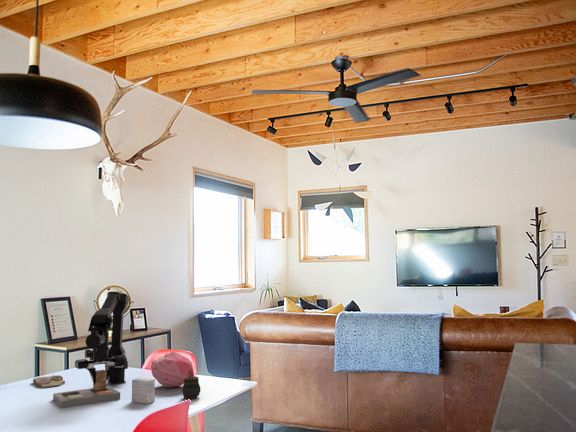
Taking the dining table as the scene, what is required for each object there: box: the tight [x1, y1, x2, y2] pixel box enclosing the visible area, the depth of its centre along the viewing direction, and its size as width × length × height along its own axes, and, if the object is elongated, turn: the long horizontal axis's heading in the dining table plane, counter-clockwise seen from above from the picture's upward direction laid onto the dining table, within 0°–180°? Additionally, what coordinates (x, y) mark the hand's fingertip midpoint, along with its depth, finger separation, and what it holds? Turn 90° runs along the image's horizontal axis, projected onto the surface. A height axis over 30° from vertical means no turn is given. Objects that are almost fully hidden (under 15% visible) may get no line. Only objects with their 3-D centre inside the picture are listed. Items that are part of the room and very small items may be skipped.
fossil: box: [32, 374, 66, 389], centre depth 237 cm, size 11×15×4 cm
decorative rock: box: [150, 351, 195, 389], centre depth 233 cm, size 19×14×15 cm
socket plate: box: [52, 385, 121, 409], centre depth 211 cm, size 22×14×3 cm, turn 126°
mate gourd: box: [181, 371, 202, 400], centre depth 215 cm, size 7×8×10 cm
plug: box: [92, 369, 107, 390], centre depth 216 cm, size 4×4×7 cm
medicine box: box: [131, 377, 156, 405], centre depth 208 cm, size 8×4×9 cm, turn 65°
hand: (99, 383), depth 216 cm, fingers closed on plug, 4 cm apart
